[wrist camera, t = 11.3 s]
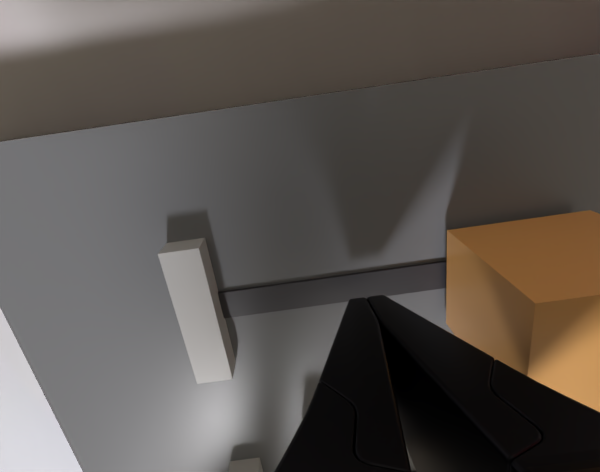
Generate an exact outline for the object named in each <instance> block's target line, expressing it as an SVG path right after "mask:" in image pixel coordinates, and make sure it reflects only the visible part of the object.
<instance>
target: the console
mask: <svg viewBox="0 0 600 472" xmlns="http://www.w3.org/2000/svg"><path fill="white" fill-rule="evenodd" d="M587 210H591V211H594V212H596V213H599V214H600V53H599V54H592V55H585V56H578V57H571V58H565V59H558V60H551V61H544V62H537V63H531V64H524V65H517V66H510V67H503V68H497V69H490V70H483V71H476V72H469V73H463V74H456V75H449V76H442V77H435V78H429V79H422V80H415V81H408V82H401V83H394V84H388V85H381V86H374V87H367V88H360V89H354V90H347V91H340V92H333V93H326V94H320V95H313V96H306V97H299V98H292V99H286V100H279V101H272V102H265V103H258V104H252V105H245V106H238V107H231V108H224V109H217V110H211V111H204V112H197V113H190V114H183V115H177V116H170V117H163V118H156V119H149V120H143V121H136V122H129V123H122V124H115V125H109V126H102V127H95V128H88V129H81V130H75V131H68V132H61V133H54V134H47V135H41V136H34V137H27V138H20V139H13V140H6V141H0V308H1V310H2V312H3V314H4V316H5V318H6V320H7V322H8V324H9V325H10V327H11V329H12V331H13V333H14V335H15V337H16V339H17V341H18V343H19V345H20V347H21V349H22V351H23V353H24V355H25V357H26V359H27V361H28V363H29V365H30V367H31V369H32V371H33V373H34V375H35V377H36V379H37V381H38V383H39V385H40V387H41V389H42V391H43V393H44V395H45V397H46V399H47V401H48V403H49V405H50V407H51V409H52V411H53V413H54V415H55V417H56V419H57V421H58V423H59V425H60V427H61V429H62V431H63V433H64V435H65V437H66V439H67V441H68V443H69V445H70V447H71V449H72V451H73V453H74V455H75V457H76V459H77V461H78V463H79V465H80V467H81V468H82V470H83V472H274V470H275V469H276V467H277V465H278V463H279V462H280V460H281V458H282V456H283V455H284V453H285V451H286V449H287V447H288V446H289V444H290V442H291V440H292V439H293V437H294V435H295V433H296V431H297V429H298V427H299V425H300V424H301V422H302V420H303V418H304V416H305V414H306V411H307V409H308V407H309V404H310V402H311V400H312V397H313V395H314V392H315V389H316V387H317V384H318V383H319V379H320V376H321V374H322V371H323V368H324V366H325V363H326V360H327V358H328V355H329V352H330V350H331V347H332V344H333V342H334V339H335V336H336V334H337V331H338V328H339V325H340V323H341V320H342V317H343V315H344V312H345V309H346V307H347V304H348V301H349V300H350V299H355V298H362V297H364V298H366V299H367V298H368V297H370V296H377V295H384V296H386V297H388V298H390V299H392V300H393V301H395V302H397V303H399V304H400V305H402V306H404V307H406V308H407V309H409V310H411V311H413V312H414V313H416V314H418V315H420V316H422V317H423V318H425V319H427V320H429V321H430V322H432V323H434V324H436V325H437V326H439V327H441V328H443V329H444V330H446V331H448V332H450V333H451V334H453V332H452V331H451V329H450V328H449V326H448V325H447V324H446V278H447V230H452V229H459V228H466V227H473V226H480V225H487V224H494V223H502V222H509V221H516V220H523V219H530V218H537V217H544V216H552V215H559V214H566V213H573V212H580V211H587ZM453 335H454V334H453ZM406 448H407V446H406ZM407 453H408V458H409V462H410V467H411V472H417V471H416V469H415V466H414V464H413V461H412V459H411V456H410V454H409V451H408V449H407Z"/></svg>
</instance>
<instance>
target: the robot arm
mask: <svg viewBox="0 0 600 472" xmlns="http://www.w3.org/2000/svg"><path fill="white" fill-rule="evenodd" d="M406 446H407V448H406ZM407 449H408V451H409V454H410V456H411V459H412V461H413V464H414V466H415V469H416V471H417V472H600V412H599V411H596V410H594V409H592V408H590V407H588V406H586V405H584V404H582V403H580V402H577V401H575V400H573V399H571V398H569V397H567V396H565V395H563V394H561V393H559V392H557V391H555V390H553V389H551V388H549V387H547V386H545V385H543V384H541V383H539V382H537V381H535V380H534V379H532V378H530V377H528V376H526V375H524V374H522V373H521V372H519V371H517V370H515V369H513V368H511V367H510V366H508V365H506V364H504V363H503V362H501V361H499V360H494V358H493V357H492V356H490V355H488V354H487V353H485V352H483V351H481V350H480V349H478V348H476V347H474V346H473V345H471V344H469V343H467V342H465V341H464V340H462V339H460V338H458V337H457V336H455V335H453V334H451V333H450V332H448V331H446V330H444V329H443V328H441V327H439V326H437V325H436V324H434V323H432V322H430V321H429V320H427V319H425V318H423V317H422V316H420V315H418V314H416V313H414V312H413V311H411V310H409V309H407V308H406V307H404V306H402V305H400V304H399V303H397V302H395V301H393V300H392V299H390V298H388V297H386V296H384V295H377V296H370V297H368V298H367V299H366V298H364V297H362V298H355V299H350V300H349V301H348V304H347V307H346V309H345V312H344V315H343V317H342V320H341V323H340V325H339V328H338V331H337V334H336V336H335V339H334V342H333V344H332V347H331V350H330V352H329V355H328V358H327V360H326V363H325V366H324V368H323V371H322V374H321V376H320V379H319V383H318V384H317V387H316V389H315V392H314V395H313V397H312V400H311V402H310V404H309V407H308V409H307V411H306V414H305V416H304V418H303V420H302V422H301V424H300V425H299V427H298V429H297V431H296V433H295V435H294V437H293V439H292V440H291V442H290V444H289V446H288V447H287V449H286V451H285V453H284V455H283V456H282V458H281V460H280V462H279V463H278V465H277V467H276V469H275V470H274V472H411V467H410V462H409V458H408V453H407Z"/></svg>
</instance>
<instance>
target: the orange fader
mask: <svg viewBox="0 0 600 472" xmlns="http://www.w3.org/2000/svg"><path fill="white" fill-rule="evenodd" d="M446 324H447V325H448V326H449V328H450V329H451V331H452V332H453V334H454V335H455V336H457V337H458V338H460V339H462V340H464V341H465V342H467V343H469V344H471V345H473V346H474V347H476V348H478V349H480V350H481V351H483V352H485V353H487V354H488V355H490V356H492V357H493V358H494V360H499V361H501V362H503V363H504V364H506V365H508V366H510V367H511V368H513V369H515V370H517V371H519V372H521V373H522V374H524V375H526V376H528V377H530V378H532V379H534V380H535V381H537V382H539V383H541V384H543V385H545V386H547V387H549V388H551V389H553V390H555V391H557V392H559V393H561V394H563V395H565V396H567V397H569V398H571V399H573V400H575V401H577V402H580V403H582V404H584V405H586V406H588V407H590V408H592V409H594V410H596V411H599V412H600V214H599V213H596V212H594V211H591V210H587V211H580V212H573V213H566V214H559V215H552V216H544V217H537V218H530V219H523V220H516V221H509V222H502V223H494V224H487V225H480V226H473V227H466V228H459V229H452V230H447V278H446Z"/></svg>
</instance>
